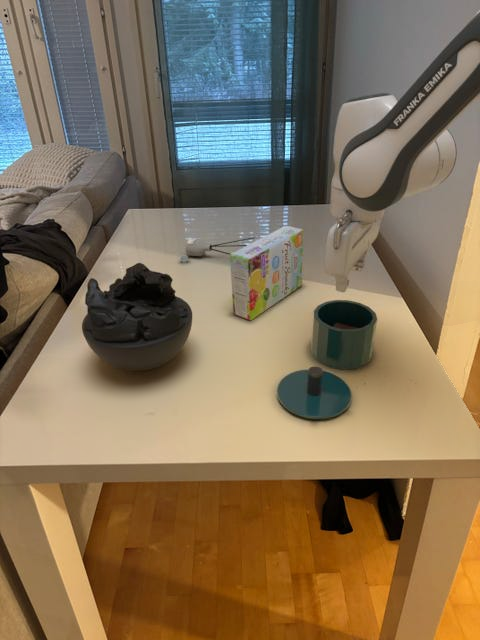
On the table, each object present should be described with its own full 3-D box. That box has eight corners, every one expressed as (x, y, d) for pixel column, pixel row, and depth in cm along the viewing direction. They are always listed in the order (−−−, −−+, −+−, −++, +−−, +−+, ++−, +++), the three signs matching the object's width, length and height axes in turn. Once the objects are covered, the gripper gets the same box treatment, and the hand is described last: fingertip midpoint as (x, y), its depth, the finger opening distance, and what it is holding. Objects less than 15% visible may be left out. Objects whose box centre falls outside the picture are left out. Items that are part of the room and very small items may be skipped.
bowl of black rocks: (205, 335, 98) (198, 252, 88) (182, 398, 81) (171, 303, 71) (114, 330, 101) (98, 249, 91) (74, 390, 84) (49, 298, 74)
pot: (377, 344, 94) (383, 307, 89) (361, 376, 85) (367, 337, 81) (323, 330, 99) (326, 295, 94) (302, 359, 90) (304, 322, 86)
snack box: (283, 280, 119) (285, 224, 112) (302, 286, 116) (305, 228, 109) (231, 314, 105) (228, 252, 98) (250, 322, 102) (250, 258, 95)
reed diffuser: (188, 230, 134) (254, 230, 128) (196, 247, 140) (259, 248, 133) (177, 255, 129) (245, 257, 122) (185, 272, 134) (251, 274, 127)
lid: (359, 386, 83) (363, 360, 80) (336, 431, 73) (340, 404, 70) (294, 366, 88) (295, 342, 85) (265, 407, 79) (265, 381, 76)
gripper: (357, 224, 67) (349, 308, 74) (391, 189, 82) (382, 261, 89) (316, 219, 70) (312, 300, 77) (356, 186, 85) (350, 256, 92)
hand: (350, 279), depth 83 cm, fingers open, 8 cm apart
